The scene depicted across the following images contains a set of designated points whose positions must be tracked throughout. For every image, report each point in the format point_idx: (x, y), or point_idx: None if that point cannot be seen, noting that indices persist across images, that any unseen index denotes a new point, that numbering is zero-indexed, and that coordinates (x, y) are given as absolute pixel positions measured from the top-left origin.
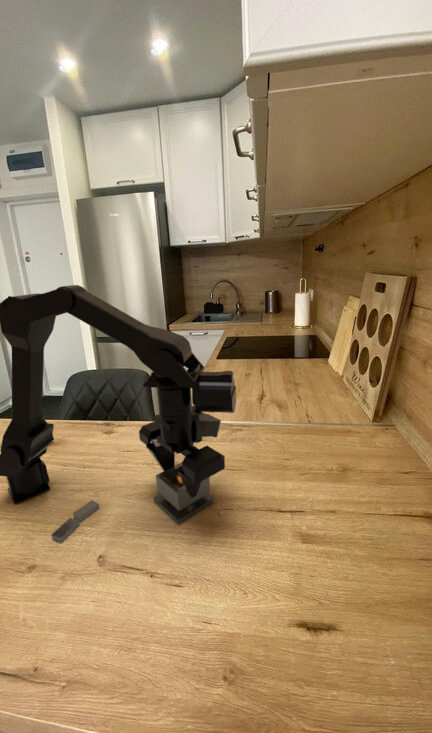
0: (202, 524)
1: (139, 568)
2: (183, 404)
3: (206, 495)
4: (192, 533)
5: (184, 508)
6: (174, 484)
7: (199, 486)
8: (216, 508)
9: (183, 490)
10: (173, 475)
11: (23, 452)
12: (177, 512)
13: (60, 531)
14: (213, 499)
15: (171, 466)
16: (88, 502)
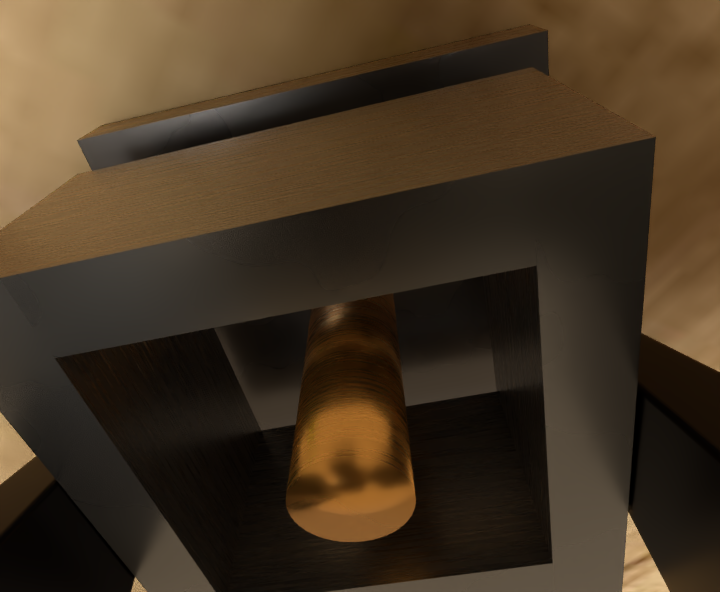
0: (665, 238)
1: (642, 556)
2: None
3: (454, 81)
4: (673, 325)
5: (478, 325)
6: (460, 576)
7: (707, 370)
8: (612, 38)
9: (622, 537)
10: (191, 458)
11: None
12: (483, 378)
13: None
14: (544, 29)
15: (73, 525)
16: None
